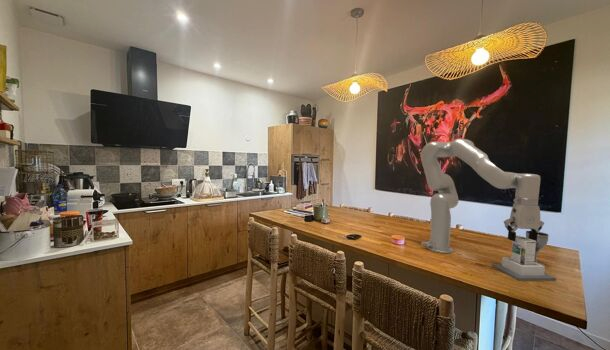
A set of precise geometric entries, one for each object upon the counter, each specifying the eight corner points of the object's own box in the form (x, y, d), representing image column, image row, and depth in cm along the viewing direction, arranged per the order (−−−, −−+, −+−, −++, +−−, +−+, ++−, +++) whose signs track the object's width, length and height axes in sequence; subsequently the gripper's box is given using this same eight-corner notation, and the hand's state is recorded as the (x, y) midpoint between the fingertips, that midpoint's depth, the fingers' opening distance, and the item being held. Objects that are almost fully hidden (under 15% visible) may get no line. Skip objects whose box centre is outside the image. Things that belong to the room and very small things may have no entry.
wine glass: (548, 268, 114) (550, 236, 113) (525, 264, 118) (528, 233, 118) (543, 262, 121) (545, 232, 120) (522, 259, 125) (524, 229, 124)
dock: (518, 280, 102) (519, 268, 101) (491, 266, 116) (492, 255, 115) (555, 280, 102) (556, 268, 102) (524, 266, 116) (525, 255, 116)
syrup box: (509, 267, 112) (511, 236, 111) (522, 267, 112) (524, 236, 111) (521, 273, 106) (523, 240, 105) (534, 273, 106) (536, 240, 106)
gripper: (514, 203, 103) (510, 243, 105) (554, 204, 104) (549, 243, 105) (499, 199, 111) (496, 237, 112) (536, 201, 112) (532, 238, 113)
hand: (522, 240), depth 109 cm, fingers open, 9 cm apart
